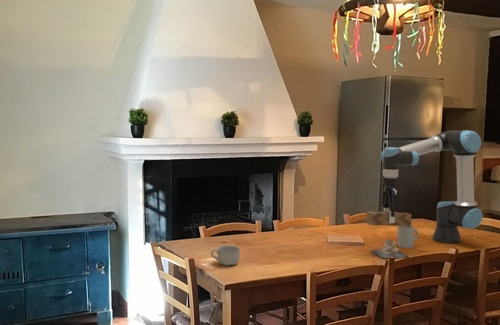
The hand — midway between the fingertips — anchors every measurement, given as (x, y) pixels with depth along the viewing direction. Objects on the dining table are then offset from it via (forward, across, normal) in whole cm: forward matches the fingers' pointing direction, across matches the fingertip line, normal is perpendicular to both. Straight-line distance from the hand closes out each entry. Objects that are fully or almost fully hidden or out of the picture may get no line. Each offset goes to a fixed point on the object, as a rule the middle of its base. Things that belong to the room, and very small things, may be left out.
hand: (388, 221), depth 246 cm
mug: (+17, -15, +19) cm, 30 cm away
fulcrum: (+17, +1, 0) cm, 17 cm away
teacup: (+18, +7, -86) cm, 88 cm away
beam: (+2, 0, 0) cm, 2 cm away
